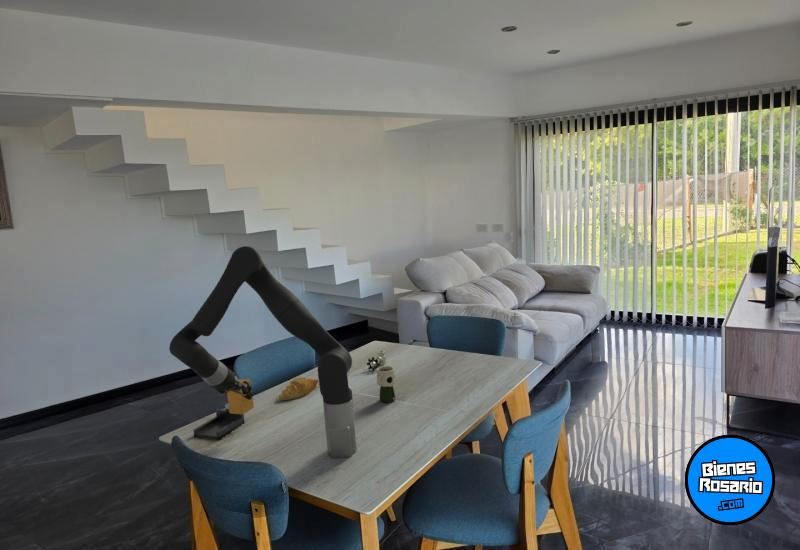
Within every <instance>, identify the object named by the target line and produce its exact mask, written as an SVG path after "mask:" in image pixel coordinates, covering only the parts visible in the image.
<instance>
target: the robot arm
mask: <svg viewBox="0 0 800 550" xmlns="http://www.w3.org/2000/svg"><path fill="white" fill-rule="evenodd" d="M244 283H247V285H249V287H251V288H252V289H253V290H254V291H255V292H256V294H257V295H258V296H259V297H260V299H261V301H262V302H263V303H264V304H265V306H266V308H267V309H268V310H269V312H270V313H271V314H272V316H273V317H274V318H275V320H277V321H278V322H279V324H280V325H281V326H282V327H283V328H284V329H285V330H286V331H287V332H288V333H290V335H292V336H294V337H296V338H297V339H299V340H300V341H303V342H304V343H306V345H309V346H310V347H311V348H312V349H313V351H314V352H315V353H316V354H317V355H318V356H319V358H320V359H318V360H319V361H318V363H317V376H318V384H319V390H320V391H319V392H320V395H321V396H322V404H323V415H324V425H325V426H324V427H325V437H326V446H327V447H326V450H327V454H328V455H329V456H330V457H331V459H337V458H338V459H339V458H347V457H352V456H353V454H355V453H356V452H357V441H356V439H357V438H356V429H355V428H356V427H355V426H356V424H355V414H354V402H353V401H354V400H353V399H354V398H353V391H352V389H351V388H350V387H349V380H348V379H349V378H348V372H349V371H350V370H351V368H352V367H353V366H352V365H353V359H352V355H351V354H350V352H349V351H348V350H347V349H346V348H345V347H344V346H343V345H342V344H341V343H340V342H338V340H336V339H335V338H334V337H333V336H332V335H331V334H330V333H329V332H328V331H327V330H326V329H325V328H324V327H323V325H322V324H321V323H320V322H319V321H318V320H317V318H315V316H314V315H313V314H312V313H311V312H310V310H309V309H308V308H307V307H306V306H305V305H304V303H303V302H302V301H301V300H300V299H299V298H298V297H297V296H296V295H295V294H294V293H293V292H292V291H291V290H290V289H288V288H287V287H286V286H285V285H283V284H282V283H281V282H280V281H279V280H277V279H276V278H275V277H274V275H273V273H272V272H271V271H270V270H269V269H268V267H267V266H266V264H265V263H264V262H263V260H262V258H261V256H260V253H259V252H258V251H257V250H256V249H255V248H254V247H251V246H247V245H246V246H245V245H244V246H241V247H237V248H236V249H235V250H234V251H233V252H232V254H231V257H230V258H229V260H228V263H227V265H226V267H225V269H224V271H223V273H222V274H221V276H220V278H219V281H217V284H216V285H215V287H214V289H212V291H211V292H210V294H209V296H208V297H207V298H206V300H205V301H204V302H203V304H202V305H201V307H200V308H199V309H198V311H197V312H196V314H195V315H194V317H193V318H192V320H191V321H190V322H188V324H186V325H185V326H184V327H183V328H182V329H180V330H179V331H178V332H177V333H176V334H175V335H174V337H173V338H171V341H170V343H169V352H170V354H171V355H172V356H173V357H175V358H176V359H177V360H179V361H180V362H181V363H183V364H184V365H186V367H188V368H190V369H191V370H192V371H193V372H194V373H196V375H197V376H199V377H200V378H201V379H202V380H203V381H204V382H205V383H206V384H208V385H209V387H210V388H212V389H214V390H215V391H217V392H218V393H220V394H225V395H227V393H228V391H233V392H235V393H237V394H240V393H241V394H242V395H244V396H245V397H246V398H247V399H249V400H251V398H252V397H254V396H253V395H254V393H253V392H252V393H251V390H252V389H253V388H252V385H251V386H250V385H249V384H248V382H246V381H244V382H243V383H240V382H239V381H237V380H236V378H235V374H234V372H233V371H232V370H231V369H230V368H229V367H228V366H226V365H225V364H224V363H223V362H221V361H220V360H218V359H217V358H216V357H215V356H213V355H212V354H211V353H209V352H208V350H207V349H205V347H204V346H202V344H201V343H199V342H197V339H198V338H200V337H201V336H203V337H209V336H211V335H212V334H213V333H214V331H215V329H216V328H217V326H218V325H219V324H220V322H221V321H222V320H223V318H224V316H225V314H226V313H227V310H228V309H229V307H230V305H231V303H232V301H233V299H234V297H235V295H236V294H237V293H238V291H239V289H240V288H241V286H242V285H243V284H244ZM239 386H240V389H239V390H238V387H239ZM237 390H238V391H237ZM242 390H243V391H244V392H242ZM252 391H253V390H252Z"/></svg>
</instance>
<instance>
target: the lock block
mask: <svg viewBox="0 0 800 550" xmlns="http://www.w3.org/2000/svg"><path fill="white" fill-rule="evenodd" d="M235 379H236V378H235ZM236 380H237V381H239V382H240V383H243V382H244V381H246V382H248V384H249V385H250V386H251V387H252V381H251V379H244V378H237V379H236ZM239 389H240V386H239V387H238V390H239ZM238 390H237V391H238ZM242 392H244V391H243V390H242ZM251 393H252V394H253V390H251ZM226 395H227V401H228V402H227V403H228V404H229V412H230V413H232V414H244V415H245V414H246V413H248V412H249V411H251V410H253V409H254V408H255V407H254V399H253V398H254V396H252V398H251V400H249V399H247V398H246V397H245V396H244V395H242V394H241V393H240V394H237V393H235V392H233V391H228V393H227V394H226Z"/></svg>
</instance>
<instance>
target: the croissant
mask: <svg viewBox="0 0 800 550" xmlns="http://www.w3.org/2000/svg"><path fill="white" fill-rule="evenodd" d="M318 384H319V379H315V378H314V379H312V378H311V379H310V378H306V377H297V378H295V379H293V380H291V382H290V383H289V384H288V385H287V386H286V387H285V389H284V390H282V391H281V394H279V395H278V397H277V398H278V400H280V401H288V400H294V399H295V400H296V399H298V398H299V397H300V398H303V397H305V396H307V395H309V394H310V393H312V391H313V390H314V389H315V388H316V387H317V385H318ZM300 398H299V399H300Z"/></svg>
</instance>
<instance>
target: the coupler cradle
mask: <svg viewBox="0 0 800 550" xmlns="http://www.w3.org/2000/svg"><path fill="white" fill-rule="evenodd" d="M224 407H225V408H217V409H216V410H215V414H216V416H214V417H212V418H210V419H208V420H207V421H205V422H204V423H202V424H200V425H199V426H197V427H195V428H194V429H193V436H194V438H200V439H209V440H216V441H221V440H223V437H224V438H225V437H227V436H228V435H230V434H232V433H233V432H234V431H236V430H237V429H239V428H240V427H242V426H243V425H244V424H245V414H232V413H230V412H229V404H228V402H227V403H225V404H224ZM242 424H243V425H242ZM241 425H242V426H241ZM239 426H240V427H239ZM238 427H239V428H238ZM235 429H236V430H235ZM232 431H233V432H232ZM226 435H227V436H226ZM220 439H221V440H220Z"/></svg>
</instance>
